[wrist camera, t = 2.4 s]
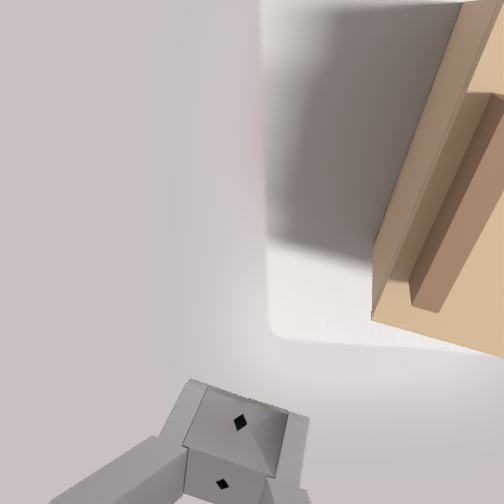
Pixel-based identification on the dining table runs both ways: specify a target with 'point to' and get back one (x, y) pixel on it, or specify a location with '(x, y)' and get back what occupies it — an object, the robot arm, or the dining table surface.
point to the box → (430, 131)
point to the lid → (458, 222)
